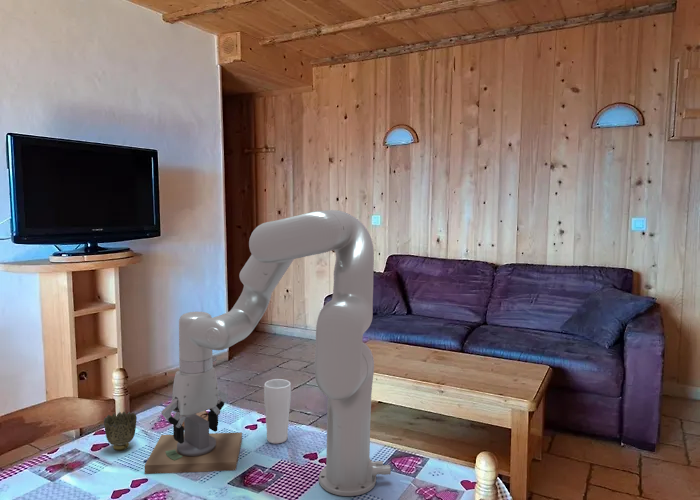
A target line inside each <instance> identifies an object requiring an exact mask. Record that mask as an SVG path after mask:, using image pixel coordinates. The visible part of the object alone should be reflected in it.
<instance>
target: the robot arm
mask: <svg viewBox="0 0 700 500" xmlns="http://www.w3.org/2000/svg"><path fill="white" fill-rule="evenodd" d="M373 243H374V242H373V240H372V237H371V235H370V232H369V230H368V229H367V228H366V226H365V225H364V223H362V222H361V221H360V220H359V219H358V218H357V217H355V216H353V215H352V214H350V213H348V212H346V211H342V210H339V209H338V210H337V209H335V210H334V209H328V210H315V211H311V212H307V213H306V212H305V213H303V214H298V215H294V216H290V217H285V218H280V219H276V220H271V221H266V222H263V223H260V224H259V225H257V226H256V227H255V228H254V229H253V231H252V232H251V235H250V237H249V241H248V247H249V252H250V253H251V254H250V256H249V258H248V259H247V261H246V262H245V264H244V266H243V267H242V269H241V270H240V272H239V275H238V276H239V280H240V282H241V283H242V284H243V288H242V291H241V293H240V296H238V299H237V300H236V302H235V304H234V305H233V307H231V309H230V310H229V311H227V312H225V313H222V314H219V315H218V316H214V317H212V315H211V314H210V313H208V312H205V311H190V312H186V313H183V314H182V315H180V316H179V320H178V352H179V353H178V358H179V359H178V361H179V362H178V365H179V369H178V370H177V371H176V372H175V375H174V379H173V385H172V395H171V402H170V403H169V404H168V405H166V407H164V409H162V411H161V415H162V416H163V417H164V419H165V420H166V421H167V422H168V423H170V424H171V425H173V428H172V429H173V430H172V431H173V433H172V435H173V436H174V439H175V440H176V441H177V442H179V443H180V444H182V443H183V442H184V427H183V426H182V423H183V422H184V420H185V418H186V416H189V415H193V414H196V413H199V412H202V411H208V410H209V412H208V422H209V430H211V431H213V432H214V433H216V432H218V425H219V415H220V414H221V410H222V409H223V408H224V405H225V402H226V401H227V399H228V396H229V394H228V393H226V392H224V391H222V390H220V389H219V386H218V379H217V372H216V368H215V367H214V362H216V361H217V359H218V358H217V355H213V351H219V352H220V351H224V350H226V349H228V348H230V347H232V346H234V345H235V344H237V343H239V342H241V341H243V340H245V339H246V338H247V337H248V336H250V334H251V333H253V331H254V330H255V328H256V327H257V325H258V324H259V322H260V320H261V319H262V317H264V314H265V313H266V311H267V309H268V307H269V305H270V302H271V298H272V295H273V292H274V290H275V289H276V288H277V285H278V284H279V283H280V281H281V280H282V278H283V276H284V275H285V274H286V272H287V271H288V269H289V267H290V266H291V265H292V264H293V261H294V260H295V259H300V258H304V257H305V258H306V257H310V256H314V255H315V256H316V255H319V254H320V255H321V254H324V253H329V252H332V251H334V253H335V263H334V270H333V288H332V289H333V290H332V296H331V300H329V301H328V302H326V303H325V305H323V307H322V308H321V310H320V311H319V314H318V317H317V320H316V325H315V327H316V328H315V349H314V350H315V353H314V378H315V381H316V384H317V387H318V389H319V391H321V393H322V394H323V395H324V396H326V398H327V404H326V405H327V408H326V462H325V463H326V464H325V465H326V466H325V467H324V468H322V470H320V473H319V475H318V482H319V484H320V486H321V488H323V490H324V491H327V492H328V493H330V494H332V495H336V496H343V497H353V496H360V495H363V494H366V493H368V492H369V491H371V490H372V489H374V487H375V486H376V483H377V475H384V476H385V475H392V474H391V473H392V472H391V471H392V470H391V464H385V465H384V461H383V460H376V461H373V460H372V459H371V456H370V452H371V449H370V448H371V418H372V417H371V413H372V392H373V391H372V390H373V383H374V372H375V360H374V355H373V352H372V350H371V348H370V347H369V346H368V345H367V344H366V343H365V342H363V338H364V337H363V335H364V334H365V332H367V330H368V329H369V328H370V326H371V324H372V321H373V318H374V317H373V313H374V312H373V304H374V303H373V302H374V301H373V300H374V271H375V270H374V266H375V264H374V263H375V262H374V261H375V255H374V254H375V253H374V245H373ZM172 412H175V414H174V415H172Z"/></svg>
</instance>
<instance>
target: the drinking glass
mask: <svg viewBox="0 0 700 500" xmlns="http://www.w3.org/2000/svg"><path fill="white" fill-rule="evenodd" d="M291 385H292V384H291V381H289V380H287V379H282V378H274V379H270V380H267V381H266V382H264V385H263V386H264V389H263V391H264V392H263V401H264V402H263V403H264V413H265V426H266V427H265V428H266V439H267V441H268V442H269V443H271V444H282V443H284V442H286V441H287V440H288V435H289V434H288V432H289V431H288V430H289V419H290V409H291V399H292V398H291V397H292V395H291V394H292V388H291V387H292V386H291Z"/></svg>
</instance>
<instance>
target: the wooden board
mask: <svg viewBox="0 0 700 500" xmlns="http://www.w3.org/2000/svg"><path fill="white" fill-rule="evenodd" d="M209 436H212V437H214V438H215V439H216V447H215V449H214V450H212V451H211V452H209V453H207V454H204V455H200V456H184V455H181V454H179V453H178V452H177V443H178V442H177V441H176V440H175V439H174V436H173V434H161V435H160V437H159V439H158V441H156V444H155V446H154V447H153V449H152V452H151V453H150V454H149V457H148V458H147V460H146V462H145V464H144V475H149V474H150V475H151V474H154V475H155V474H175V473H176V474H178V473H179V474H180V473H200V472H201V473H202V472H203V473H204V472H225V471H226V472H228V471H236V470H237V465H238V460H239V456H240V451H241V447H242V441H243V432H217V433H216V432H213V433H210V432H209Z"/></svg>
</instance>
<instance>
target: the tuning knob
mask: <svg viewBox="0 0 700 500" xmlns="http://www.w3.org/2000/svg"><path fill="white" fill-rule="evenodd" d="M209 433H210V429H209V422H208V421H207V420H205V419H203V418H201V417H200V416H198V415H196V414H193V415H189V416H186V418H185V420H184V442H183V443H182V444H180V443H179V442H178V443H177V452H178V453H179V454H181V455H184V456H200V455H204V454H207V453H209V452H211V451H212V450H214V449H215V447H216V439H215V438H214V437H212V436H209Z"/></svg>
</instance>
